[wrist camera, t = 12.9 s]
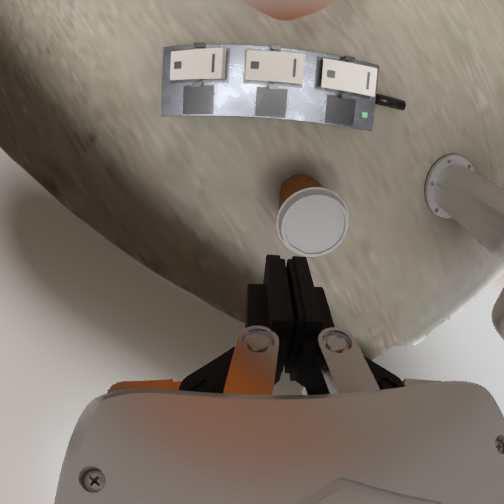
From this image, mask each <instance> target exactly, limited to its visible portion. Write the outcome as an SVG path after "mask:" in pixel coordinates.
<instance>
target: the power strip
mask: <svg viewBox="0 0 504 504" xmlns="http://www.w3.org/2000/svg"><path fill="white" fill-rule="evenodd" d="M194 48H202V49H205V48H225V49H227V50H226V67H225V79H200V81H193V79H192V80H170V63H171V51H181V50H191V49H194ZM247 50H258V51H273V50H279V51H280V52H290V53H301V54H305V64H304V76H303V85H302V84H293V83H282V82H278V83H270V81H253V80H245V72H246V57H247ZM323 58H325V59H331V60H338V61H344V62H347V61H351V62H354V64H360V65H364V66H369V67H374V68H378V70H379V66H378V65H375V64H371V63H367V62H363V61H358V60H355V57H350V56H343V57H339V56H334V55H329V54H323V53H317V52H310V51H303V50H296V49H287V48H281V45H271V47H266V46H250V45H205V44H204V43H194V45H187V46H171V47H164V53H163V76H162V116H190V115H215V116H247V117H264V118H278V119H289V120H299V121H308V122H316V123H324V124H331V125H338V126H344V127H351V128H357V129H362V130H368V131H371V130H372V123H373V116H374V108H375V104H379V105H383V106H387V107H391V108H395V109H399V110H404V109H405V106H406V104H405V101H403V100H399V99H395V98H391V97H388V96H384V95H380V94H376V91H377V81H378V70H377V81H376V90H375V97H371V96H367V95H362V94H357V93H351V94H349V93H344V91H340V90H334V89H328V88H321V79H322V68H323Z"/></svg>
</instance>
